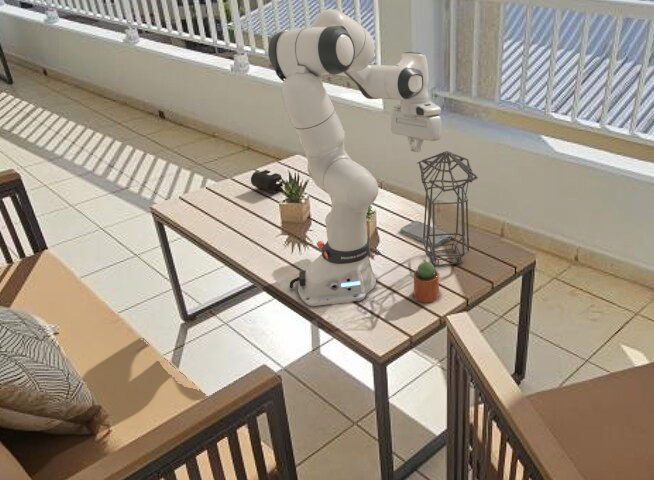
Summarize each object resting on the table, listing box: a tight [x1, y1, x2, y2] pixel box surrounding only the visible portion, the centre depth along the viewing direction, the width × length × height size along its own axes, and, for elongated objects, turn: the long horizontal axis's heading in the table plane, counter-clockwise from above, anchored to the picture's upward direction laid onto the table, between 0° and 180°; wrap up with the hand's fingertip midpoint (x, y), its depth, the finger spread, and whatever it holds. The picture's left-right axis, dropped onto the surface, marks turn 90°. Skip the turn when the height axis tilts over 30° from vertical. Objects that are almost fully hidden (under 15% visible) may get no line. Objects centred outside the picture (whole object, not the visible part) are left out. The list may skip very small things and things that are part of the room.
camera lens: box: [250, 169, 284, 195], centre depth 233 cm, size 10×7×7 cm
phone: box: [400, 220, 452, 249], centre depth 203 cm, size 8×16×1 cm, turn 47°
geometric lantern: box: [416, 150, 479, 267], centre depth 182 cm, size 16×16×35 cm
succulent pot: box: [413, 261, 440, 303], centre depth 172 cm, size 7×7×11 cm
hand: (415, 151), depth 196 cm, fingers closed
